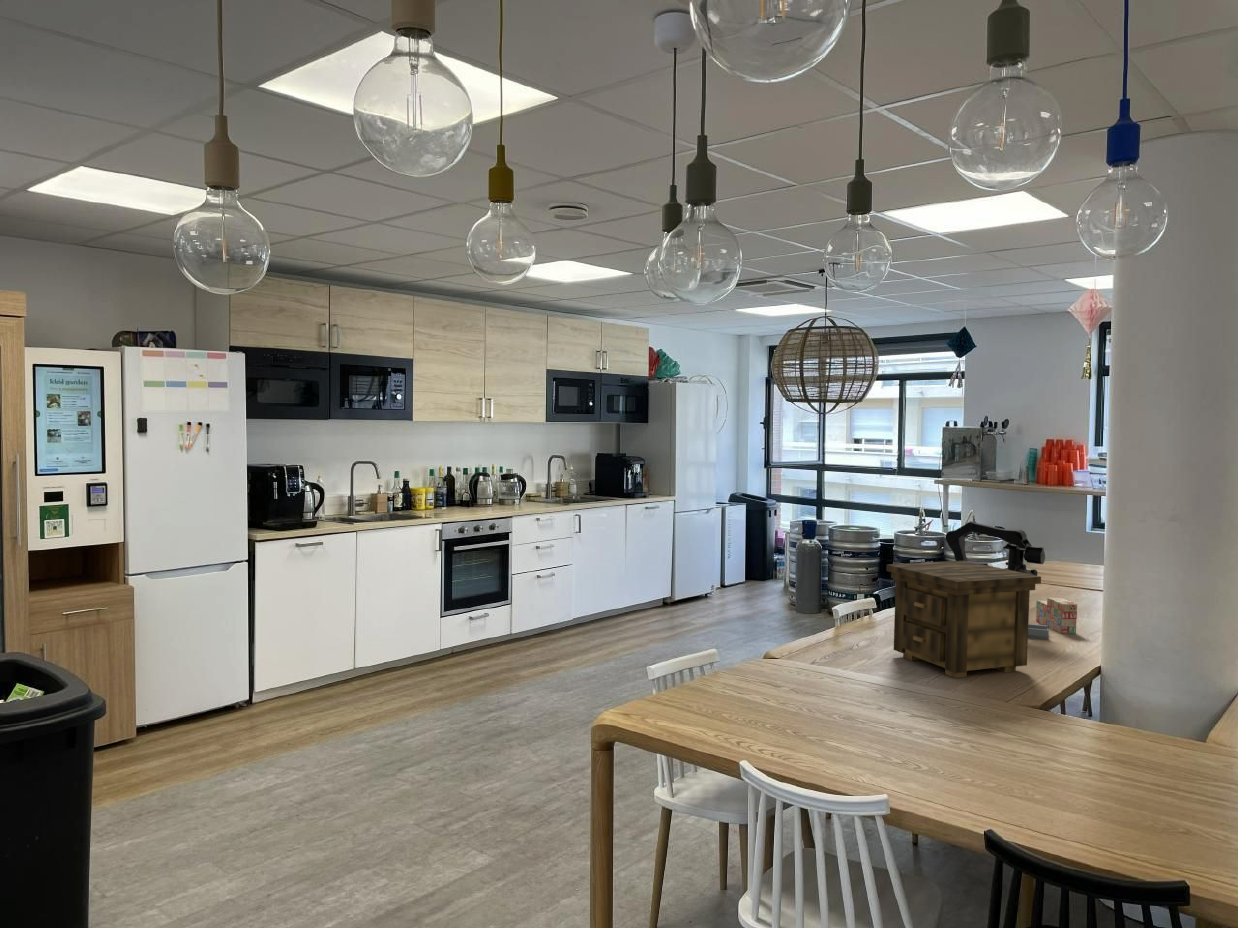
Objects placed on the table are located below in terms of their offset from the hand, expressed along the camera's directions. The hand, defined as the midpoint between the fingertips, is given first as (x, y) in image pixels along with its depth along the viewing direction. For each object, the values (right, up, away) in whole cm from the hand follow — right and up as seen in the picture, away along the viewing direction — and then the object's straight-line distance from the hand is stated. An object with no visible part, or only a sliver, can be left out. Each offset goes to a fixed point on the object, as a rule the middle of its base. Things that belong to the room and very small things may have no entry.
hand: (1013, 598), depth 346 cm
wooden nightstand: (-43, -15, -52) cm, 69 cm away
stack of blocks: (+21, -13, +7) cm, 25 cm away
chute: (0, -13, -6) cm, 14 cm away
